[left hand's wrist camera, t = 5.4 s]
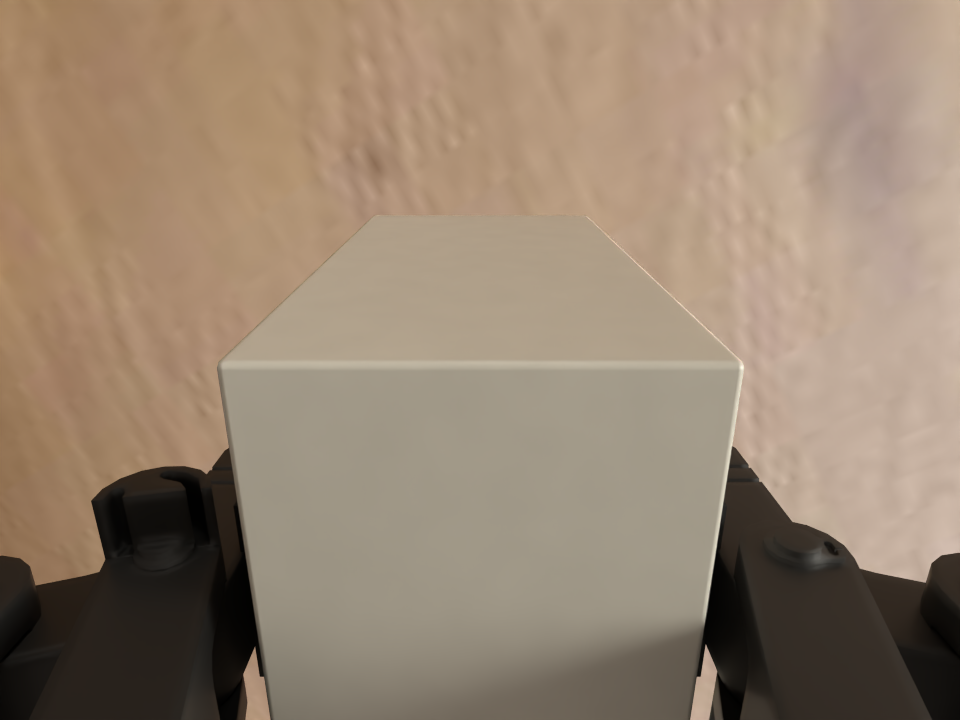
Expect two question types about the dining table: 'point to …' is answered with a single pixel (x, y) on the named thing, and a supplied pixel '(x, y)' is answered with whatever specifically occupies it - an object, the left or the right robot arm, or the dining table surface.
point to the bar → (480, 477)
